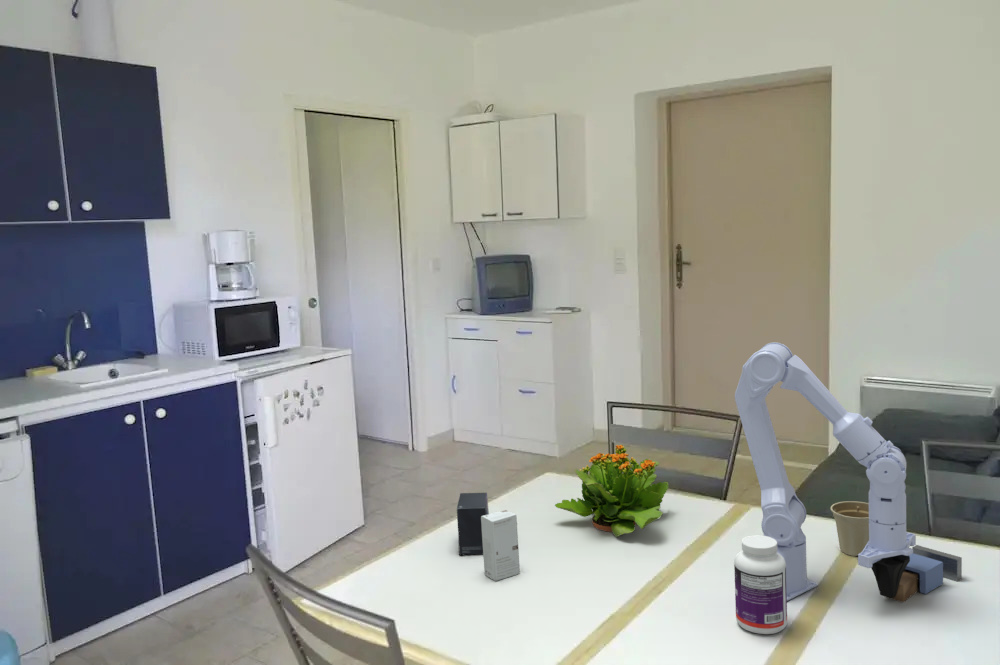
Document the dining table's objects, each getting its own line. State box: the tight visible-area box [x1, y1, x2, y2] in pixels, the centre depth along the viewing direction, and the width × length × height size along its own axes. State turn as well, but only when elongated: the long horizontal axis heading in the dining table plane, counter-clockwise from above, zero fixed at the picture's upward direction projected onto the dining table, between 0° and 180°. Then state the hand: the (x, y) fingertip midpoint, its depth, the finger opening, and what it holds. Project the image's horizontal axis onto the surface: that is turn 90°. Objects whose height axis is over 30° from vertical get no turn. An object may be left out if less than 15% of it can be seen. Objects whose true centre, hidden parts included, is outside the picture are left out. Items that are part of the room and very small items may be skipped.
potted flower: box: [554, 444, 669, 538], centre depth 178 cm, size 25×24×18 cm
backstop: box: [911, 544, 963, 582], centre depth 144 cm, size 2×8×4 cm, turn 35°
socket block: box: [904, 554, 944, 595], centre depth 140 cm, size 6×6×4 cm
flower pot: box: [829, 500, 869, 557], centre depth 155 cm, size 9×9×9 cm
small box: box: [456, 492, 490, 556], centre depth 171 cm, size 11×6×10 cm, turn 179°
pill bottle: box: [733, 534, 788, 635], centre depth 129 cm, size 8×8×14 cm
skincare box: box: [481, 509, 521, 582], centre depth 155 cm, size 6×4×12 cm
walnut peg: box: [886, 571, 919, 603], centre depth 137 cm, size 6×3×3 cm, turn 131°
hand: (888, 595), depth 135 cm, fingers closed
